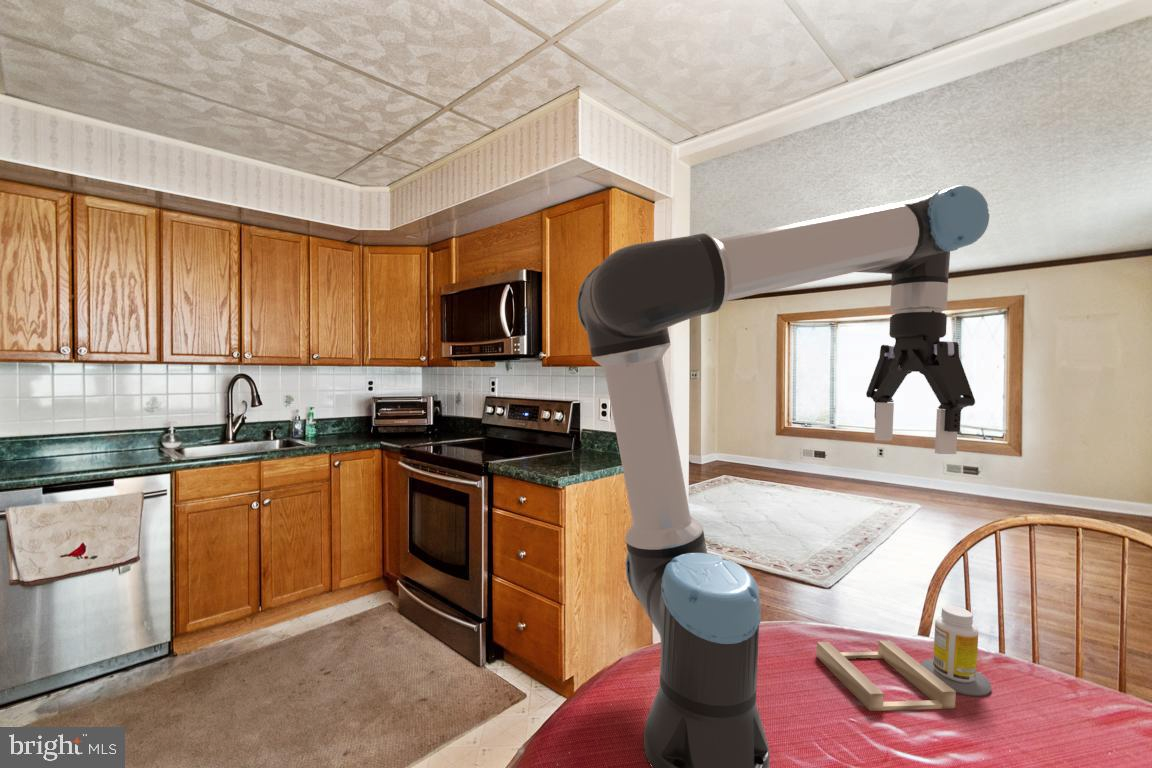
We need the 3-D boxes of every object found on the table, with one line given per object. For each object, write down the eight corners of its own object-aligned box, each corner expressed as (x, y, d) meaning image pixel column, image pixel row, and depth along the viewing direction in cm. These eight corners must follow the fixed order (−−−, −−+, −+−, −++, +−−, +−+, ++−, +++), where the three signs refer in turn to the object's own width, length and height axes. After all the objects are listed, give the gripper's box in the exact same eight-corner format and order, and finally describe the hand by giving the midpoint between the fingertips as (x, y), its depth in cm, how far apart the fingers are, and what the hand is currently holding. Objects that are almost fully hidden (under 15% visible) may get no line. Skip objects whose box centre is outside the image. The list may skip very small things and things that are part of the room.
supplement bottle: (980, 676, 82) (984, 613, 82) (969, 689, 79) (973, 622, 79) (939, 660, 87) (943, 599, 86) (927, 671, 83) (930, 608, 83)
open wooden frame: (869, 711, 74) (870, 693, 74) (816, 656, 88) (817, 641, 88) (954, 708, 75) (955, 691, 75) (889, 654, 89) (889, 640, 89)
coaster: (950, 696, 78) (951, 693, 78) (907, 662, 87) (907, 659, 87) (1006, 695, 79) (1006, 691, 79) (958, 661, 88) (958, 658, 88)
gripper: (1012, 304, 70) (1004, 460, 71) (887, 320, 95) (881, 436, 96) (960, 302, 69) (952, 460, 70) (847, 319, 94) (843, 435, 95)
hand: (911, 446), depth 83 cm, fingers open, 13 cm apart
